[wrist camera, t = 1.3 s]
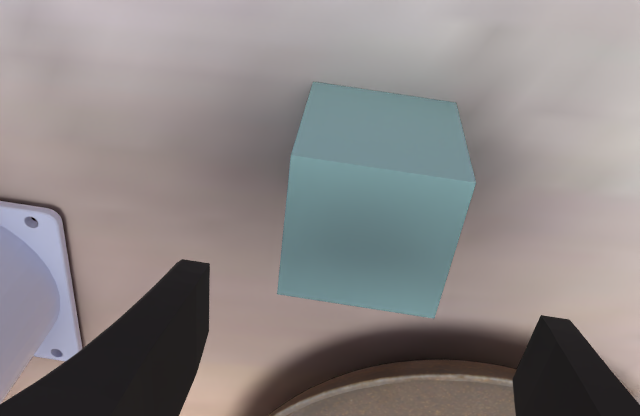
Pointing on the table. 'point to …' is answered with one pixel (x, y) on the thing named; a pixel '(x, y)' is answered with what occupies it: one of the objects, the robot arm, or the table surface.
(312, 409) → the plant saucer
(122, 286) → the table surface
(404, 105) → the block
